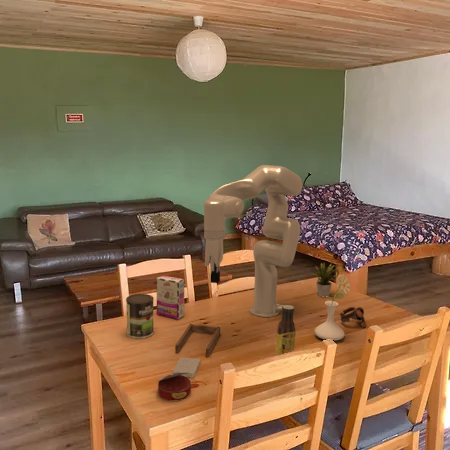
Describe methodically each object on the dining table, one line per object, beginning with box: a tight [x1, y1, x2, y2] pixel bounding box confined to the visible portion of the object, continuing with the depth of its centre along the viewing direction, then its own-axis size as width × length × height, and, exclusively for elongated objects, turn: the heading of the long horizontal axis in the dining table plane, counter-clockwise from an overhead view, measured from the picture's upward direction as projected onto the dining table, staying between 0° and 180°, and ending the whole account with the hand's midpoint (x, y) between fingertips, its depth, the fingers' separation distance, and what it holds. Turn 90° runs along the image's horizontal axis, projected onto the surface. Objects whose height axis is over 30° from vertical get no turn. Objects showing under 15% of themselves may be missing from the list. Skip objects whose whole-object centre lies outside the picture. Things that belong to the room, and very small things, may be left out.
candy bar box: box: [155, 274, 185, 321], centre depth 200 cm, size 11×5×16 cm, turn 62°
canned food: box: [157, 372, 192, 401], centre depth 144 cm, size 11×10×10 cm
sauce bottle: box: [274, 304, 296, 356], centre depth 163 cm, size 6×6×20 cm
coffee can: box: [125, 293, 155, 340], centre depth 183 cm, size 10×10×14 cm
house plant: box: [312, 262, 340, 298], centre depth 226 cm, size 14×14×16 cm
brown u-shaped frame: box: [174, 323, 221, 358], centre depth 177 cm, size 12×19×3 cm, turn 168°
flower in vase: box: [314, 273, 351, 341], centre depth 182 cm, size 13×11×25 cm
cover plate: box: [172, 356, 201, 379], centre depth 158 cm, size 7×10×2 cm
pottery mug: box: [339, 306, 367, 329], centre depth 197 cm, size 12×10×8 cm
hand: (215, 282), depth 175 cm, fingers closed
